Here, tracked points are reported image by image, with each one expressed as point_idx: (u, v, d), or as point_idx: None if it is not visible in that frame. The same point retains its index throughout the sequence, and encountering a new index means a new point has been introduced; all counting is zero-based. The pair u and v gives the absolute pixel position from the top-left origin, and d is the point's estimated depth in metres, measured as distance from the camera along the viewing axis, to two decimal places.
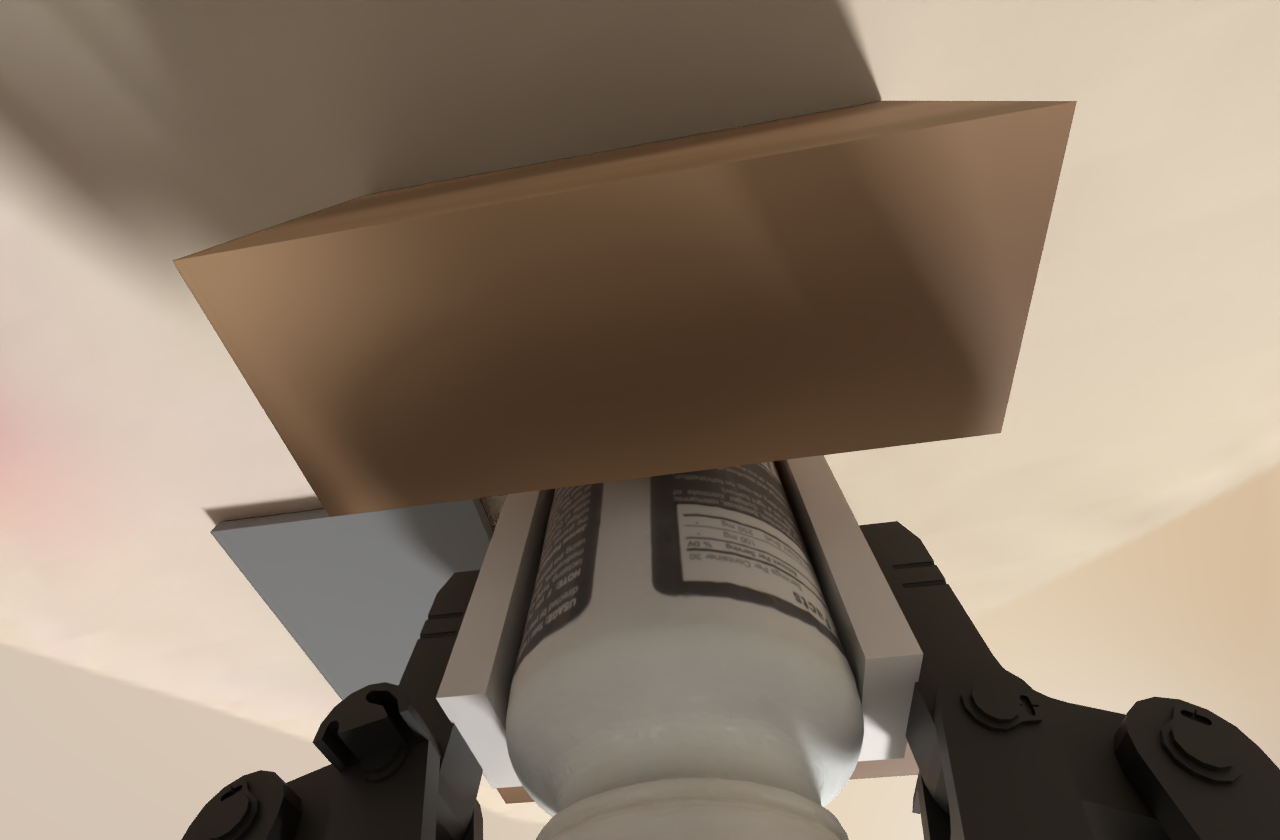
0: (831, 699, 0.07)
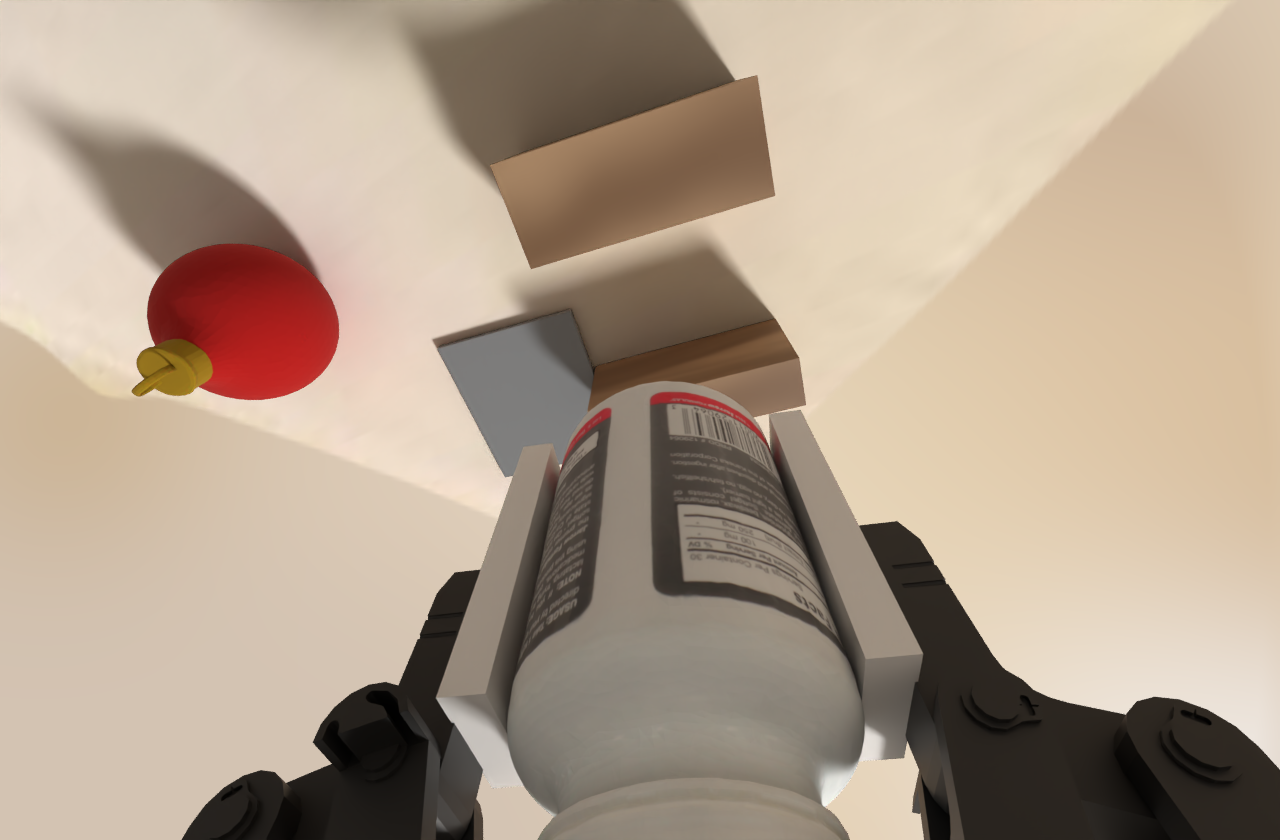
0: (832, 700, 0.07)
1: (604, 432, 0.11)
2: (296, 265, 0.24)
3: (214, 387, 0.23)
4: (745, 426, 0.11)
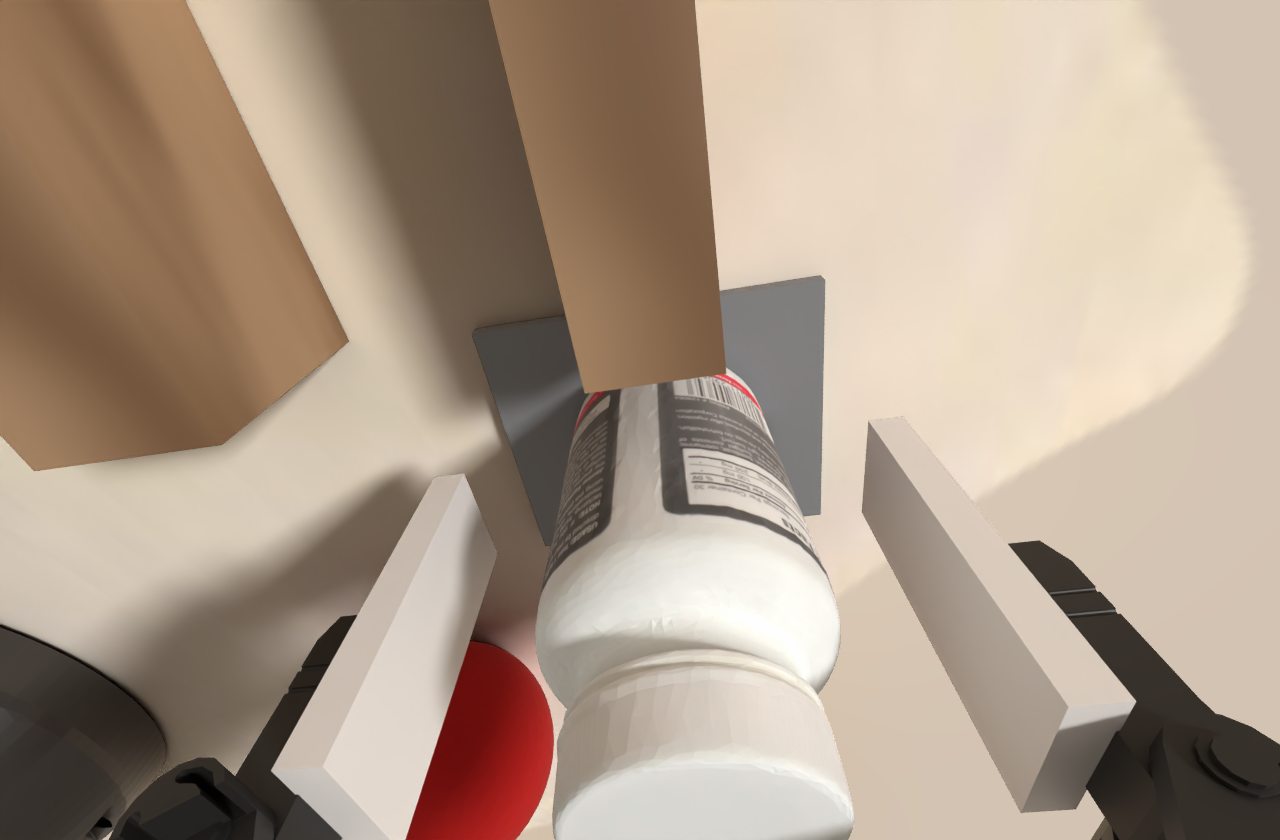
0: (812, 600, 0.08)
1: (615, 395, 0.12)
2: None
3: None
4: (741, 393, 0.13)
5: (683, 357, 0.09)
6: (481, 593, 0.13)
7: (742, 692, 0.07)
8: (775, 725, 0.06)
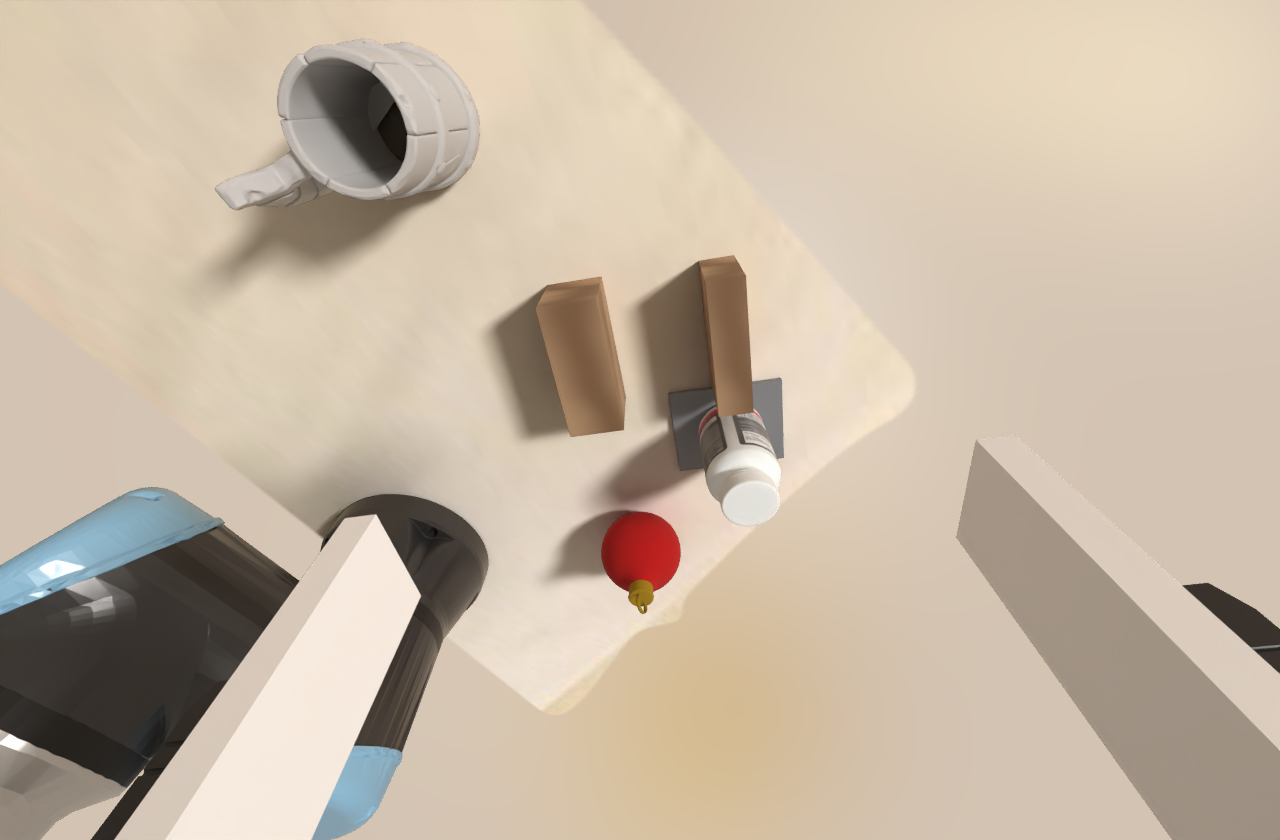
0: (773, 463, 0.37)
1: (717, 415, 0.41)
2: (616, 522, 0.47)
3: (660, 582, 0.45)
4: (755, 415, 0.42)
5: (743, 408, 0.38)
6: (394, 642, 0.12)
7: (758, 474, 0.35)
8: (764, 478, 0.35)
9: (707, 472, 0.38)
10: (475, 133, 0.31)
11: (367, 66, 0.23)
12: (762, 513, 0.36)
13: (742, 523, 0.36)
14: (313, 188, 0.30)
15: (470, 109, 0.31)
